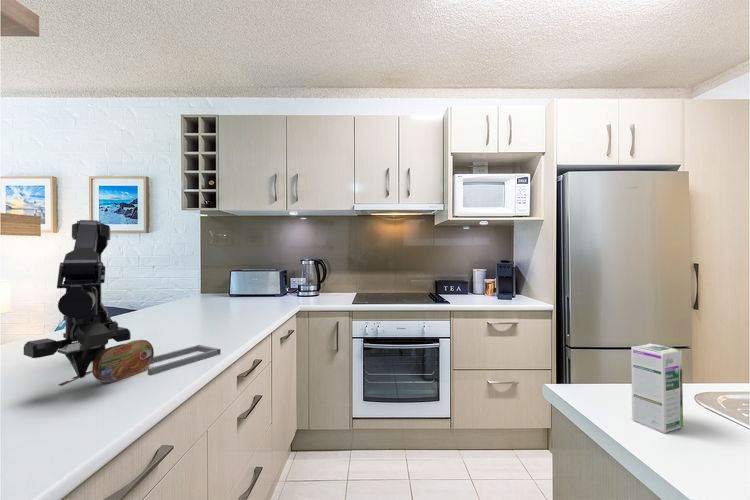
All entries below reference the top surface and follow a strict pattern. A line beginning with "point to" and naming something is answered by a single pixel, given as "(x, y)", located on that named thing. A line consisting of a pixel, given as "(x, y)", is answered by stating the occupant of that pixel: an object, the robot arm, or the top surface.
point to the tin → (122, 360)
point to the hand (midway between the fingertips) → (81, 377)
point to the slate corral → (208, 353)
